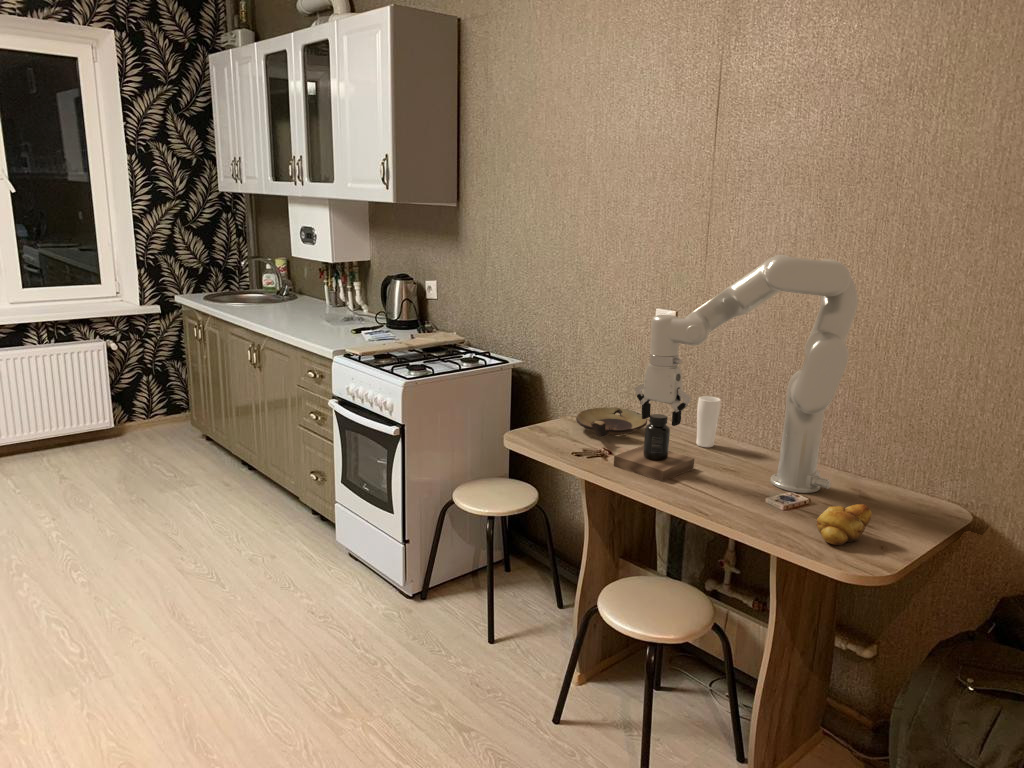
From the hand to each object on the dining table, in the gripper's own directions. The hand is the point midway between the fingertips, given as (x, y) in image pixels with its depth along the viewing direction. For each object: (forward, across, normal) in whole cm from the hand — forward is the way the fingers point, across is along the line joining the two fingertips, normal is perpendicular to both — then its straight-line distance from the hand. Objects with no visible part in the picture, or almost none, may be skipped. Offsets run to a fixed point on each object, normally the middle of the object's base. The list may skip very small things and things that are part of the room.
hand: (660, 421), depth 208 cm
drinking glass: (+14, +2, -29) cm, 33 cm away
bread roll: (+15, -53, +8) cm, 56 cm away
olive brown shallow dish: (+13, +30, -15) cm, 36 cm away
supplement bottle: (+11, +1, +1) cm, 11 cm away
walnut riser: (+13, +1, +1) cm, 13 cm away
